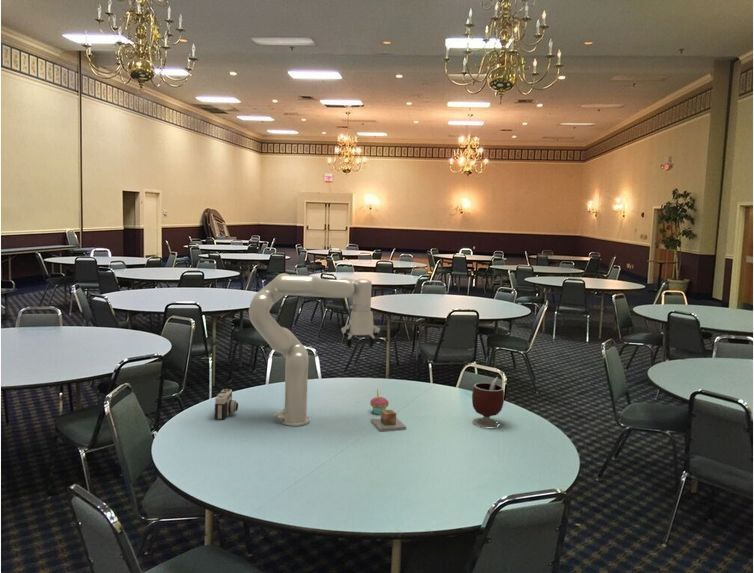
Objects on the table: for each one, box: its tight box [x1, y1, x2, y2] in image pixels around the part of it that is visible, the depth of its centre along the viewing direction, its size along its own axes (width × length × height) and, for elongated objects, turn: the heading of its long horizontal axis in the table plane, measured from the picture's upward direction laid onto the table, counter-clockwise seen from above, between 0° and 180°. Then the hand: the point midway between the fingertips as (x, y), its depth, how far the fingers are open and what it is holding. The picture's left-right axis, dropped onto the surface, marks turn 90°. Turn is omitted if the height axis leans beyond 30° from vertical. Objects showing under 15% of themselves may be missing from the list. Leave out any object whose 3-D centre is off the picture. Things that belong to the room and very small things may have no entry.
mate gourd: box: [471, 376, 505, 428], centre depth 262 cm, size 16×14×20 cm
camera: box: [214, 388, 239, 421], centre depth 258 cm, size 14×8×10 cm, turn 1°
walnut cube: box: [380, 409, 397, 425], centre depth 254 cm, size 5×5×5 cm
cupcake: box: [369, 387, 389, 415], centre depth 270 cm, size 9×8×12 cm
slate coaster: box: [370, 417, 407, 433], centre depth 254 cm, size 12×12×1 cm
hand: (359, 347), depth 253 cm, fingers open, 9 cm apart
